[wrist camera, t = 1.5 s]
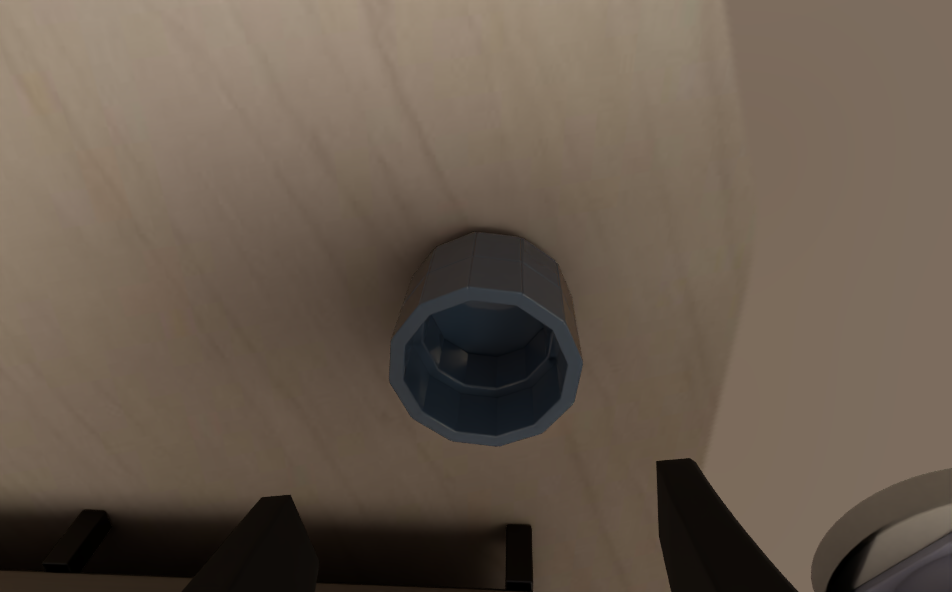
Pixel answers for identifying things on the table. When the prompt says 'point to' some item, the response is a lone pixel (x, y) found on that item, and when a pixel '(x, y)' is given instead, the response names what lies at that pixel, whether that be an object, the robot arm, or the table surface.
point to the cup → (486, 341)
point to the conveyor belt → (68, 588)
